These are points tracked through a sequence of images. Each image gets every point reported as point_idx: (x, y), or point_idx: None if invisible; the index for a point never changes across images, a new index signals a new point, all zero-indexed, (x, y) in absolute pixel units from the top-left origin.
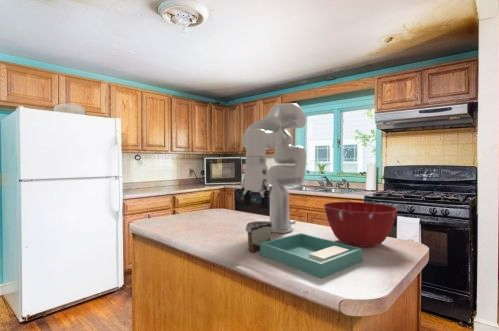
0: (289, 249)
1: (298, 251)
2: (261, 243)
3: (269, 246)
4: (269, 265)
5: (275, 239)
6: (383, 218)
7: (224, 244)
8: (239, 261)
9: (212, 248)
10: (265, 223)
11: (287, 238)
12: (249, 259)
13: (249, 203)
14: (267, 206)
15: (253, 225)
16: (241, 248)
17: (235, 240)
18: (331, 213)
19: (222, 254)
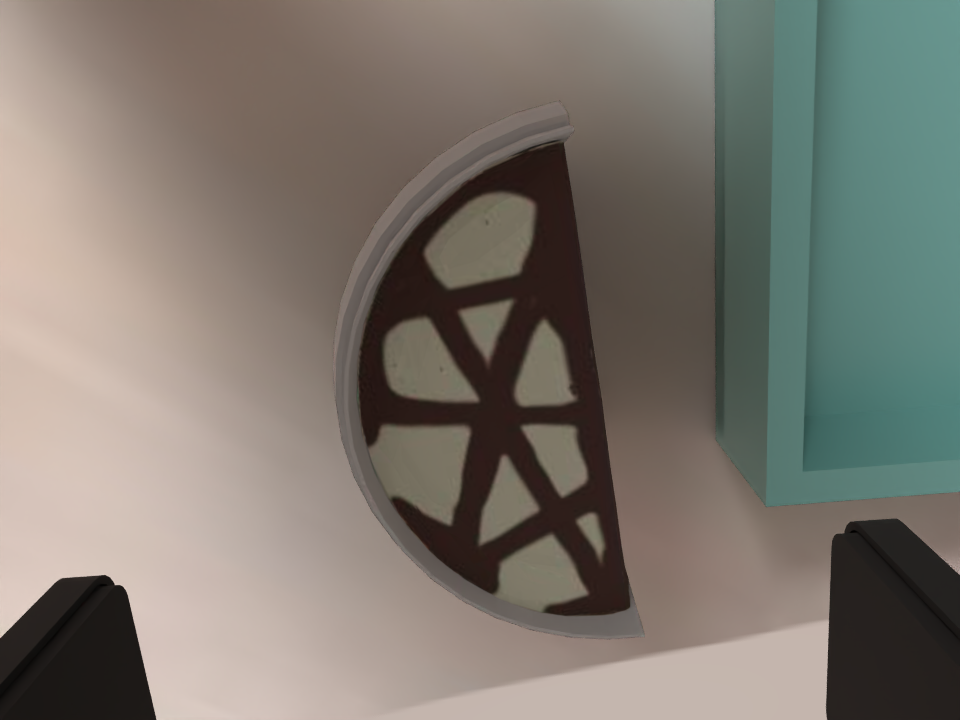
0: (821, 54)
1: (951, 12)
2: (790, 502)
3: (937, 493)
4: None
5: (778, 246)
6: None
7: (136, 512)
8: (680, 641)
9: (208, 665)
10: (456, 195)
11: (810, 14)
12: (696, 548)
13: (117, 651)
14: (905, 537)
15: (456, 458)
16: None
17: (39, 330)
18: None
19: (428, 670)
